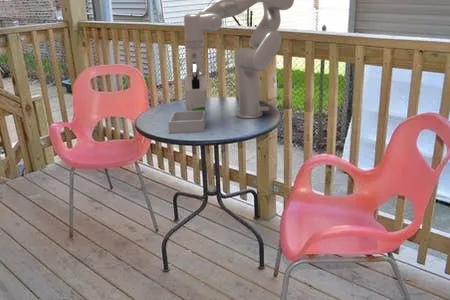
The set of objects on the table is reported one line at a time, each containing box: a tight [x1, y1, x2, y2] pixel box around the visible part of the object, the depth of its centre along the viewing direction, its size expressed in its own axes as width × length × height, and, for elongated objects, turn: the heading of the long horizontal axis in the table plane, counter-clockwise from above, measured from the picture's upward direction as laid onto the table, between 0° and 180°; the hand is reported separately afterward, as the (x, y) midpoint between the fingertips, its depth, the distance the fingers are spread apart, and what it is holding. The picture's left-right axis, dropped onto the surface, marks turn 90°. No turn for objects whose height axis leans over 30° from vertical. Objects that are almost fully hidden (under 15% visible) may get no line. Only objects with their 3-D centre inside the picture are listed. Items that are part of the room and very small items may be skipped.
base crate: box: [167, 110, 207, 134], centre depth 193 cm, size 15×16×5 cm
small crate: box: [184, 73, 208, 91], centre depth 185 cm, size 9×6×6 cm, turn 91°
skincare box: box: [183, 83, 207, 113], centre depth 208 cm, size 8×7×16 cm
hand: (196, 86), depth 186 cm, fingers closed on small crate, 6 cm apart
